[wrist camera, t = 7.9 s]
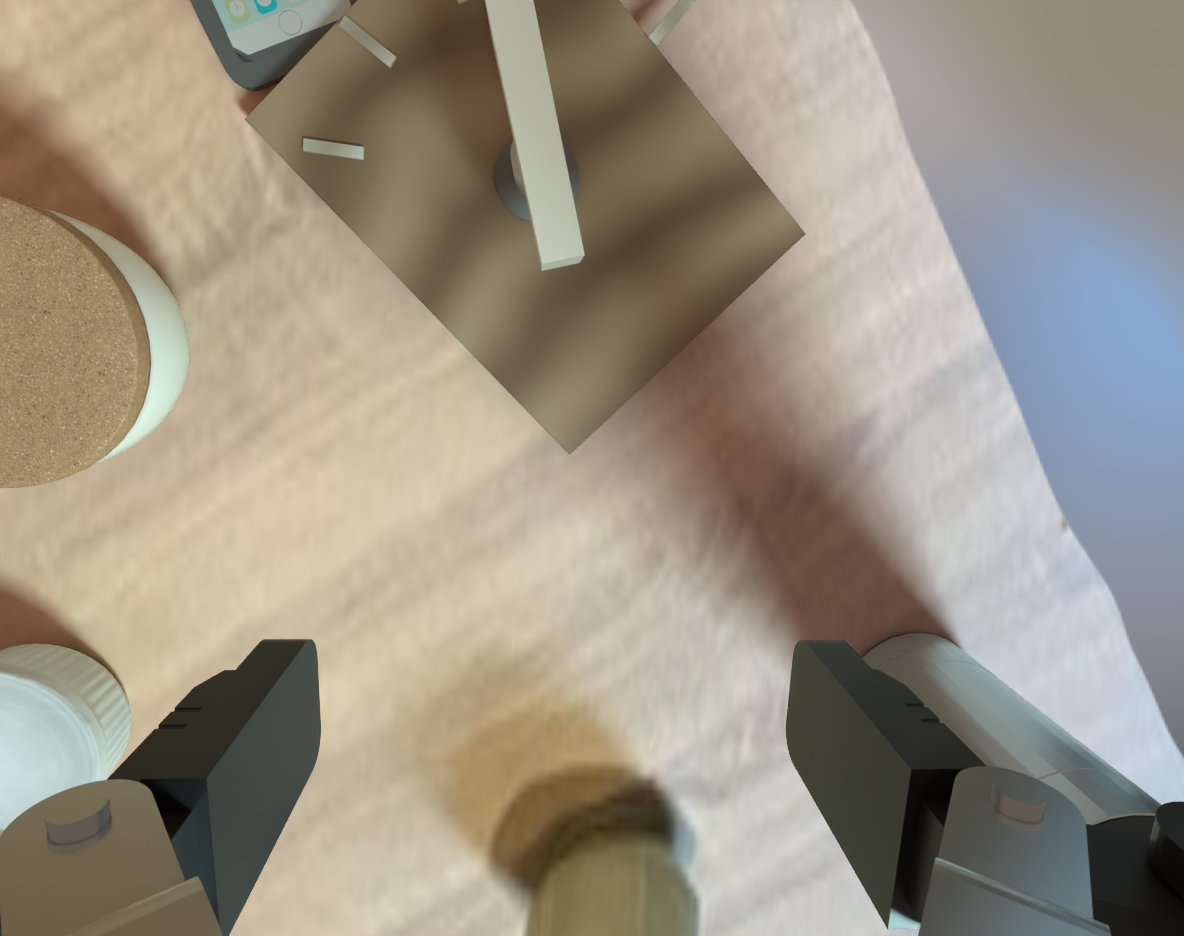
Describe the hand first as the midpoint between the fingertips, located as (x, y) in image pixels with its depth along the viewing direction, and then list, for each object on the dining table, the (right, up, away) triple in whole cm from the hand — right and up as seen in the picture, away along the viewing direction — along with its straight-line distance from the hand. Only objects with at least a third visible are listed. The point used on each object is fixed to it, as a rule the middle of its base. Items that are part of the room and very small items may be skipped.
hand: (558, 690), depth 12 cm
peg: (-3, +22, +24) cm, 32 cm away
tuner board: (-1, +20, +26) cm, 33 cm away
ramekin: (-32, -11, +31) cm, 46 cm away
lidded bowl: (-26, +11, +27) cm, 39 cm away
